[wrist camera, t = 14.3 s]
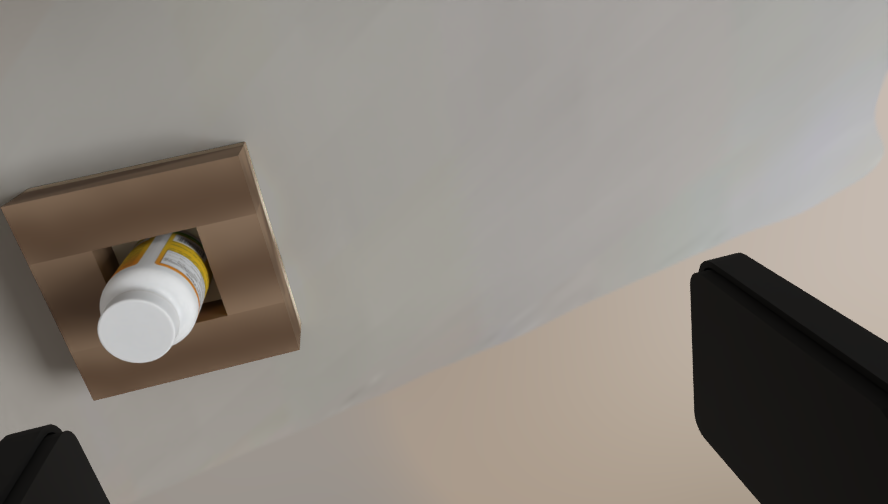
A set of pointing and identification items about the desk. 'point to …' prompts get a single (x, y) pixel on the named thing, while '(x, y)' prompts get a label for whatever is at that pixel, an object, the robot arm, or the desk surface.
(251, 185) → the socket block
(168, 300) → the supplement bottle
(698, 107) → the desk surface
